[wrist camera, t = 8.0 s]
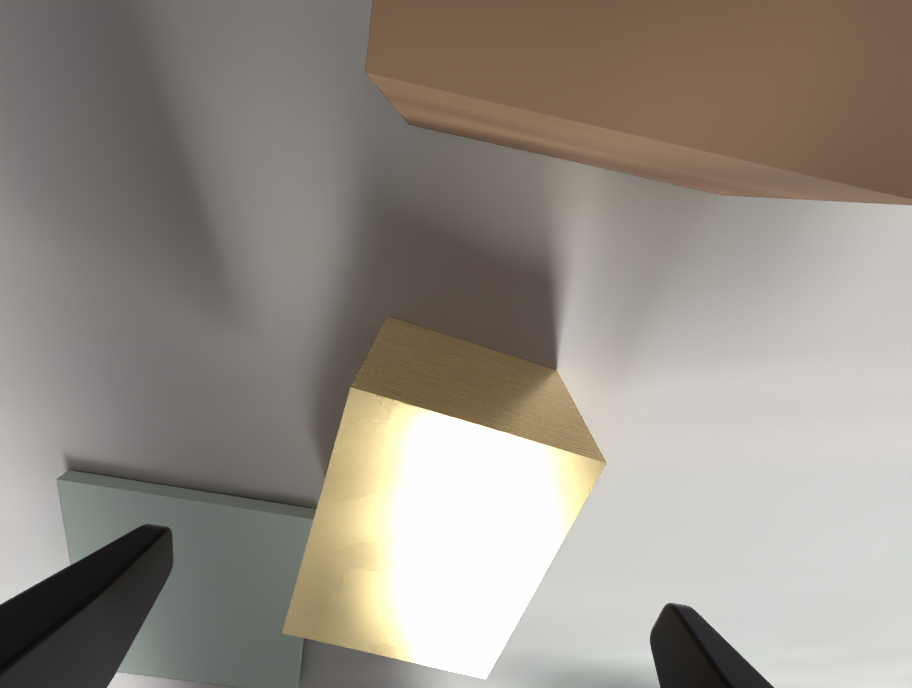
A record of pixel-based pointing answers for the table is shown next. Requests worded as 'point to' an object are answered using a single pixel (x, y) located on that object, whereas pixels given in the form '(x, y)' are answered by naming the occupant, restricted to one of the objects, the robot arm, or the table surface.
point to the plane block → (668, 87)
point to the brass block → (441, 502)
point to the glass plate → (202, 577)
